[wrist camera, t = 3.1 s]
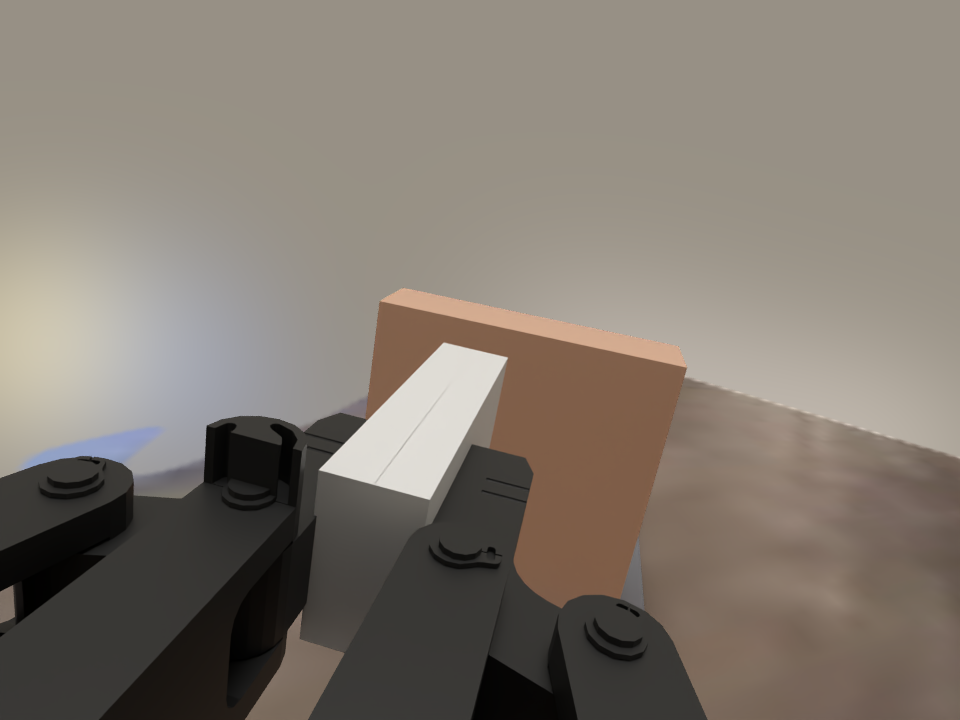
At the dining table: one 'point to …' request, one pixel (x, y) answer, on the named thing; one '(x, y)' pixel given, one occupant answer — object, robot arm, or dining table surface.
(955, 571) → the dining table surface
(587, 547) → the terracotta tile
